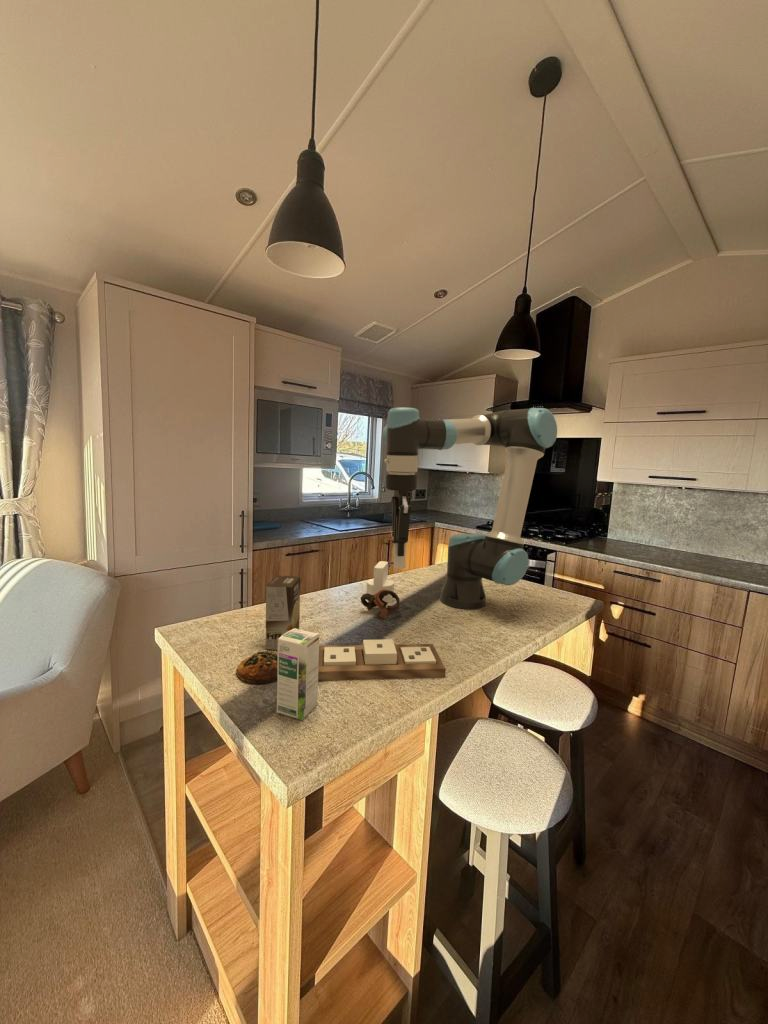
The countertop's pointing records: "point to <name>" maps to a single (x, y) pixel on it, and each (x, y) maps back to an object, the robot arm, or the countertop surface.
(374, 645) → the tile one
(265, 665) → the bread roll
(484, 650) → the countertop surface
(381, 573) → the base with upright slab
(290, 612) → the coffee box
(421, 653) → the tile three
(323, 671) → the board
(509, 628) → the countertop surface
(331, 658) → the tile two
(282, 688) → the syrup box
